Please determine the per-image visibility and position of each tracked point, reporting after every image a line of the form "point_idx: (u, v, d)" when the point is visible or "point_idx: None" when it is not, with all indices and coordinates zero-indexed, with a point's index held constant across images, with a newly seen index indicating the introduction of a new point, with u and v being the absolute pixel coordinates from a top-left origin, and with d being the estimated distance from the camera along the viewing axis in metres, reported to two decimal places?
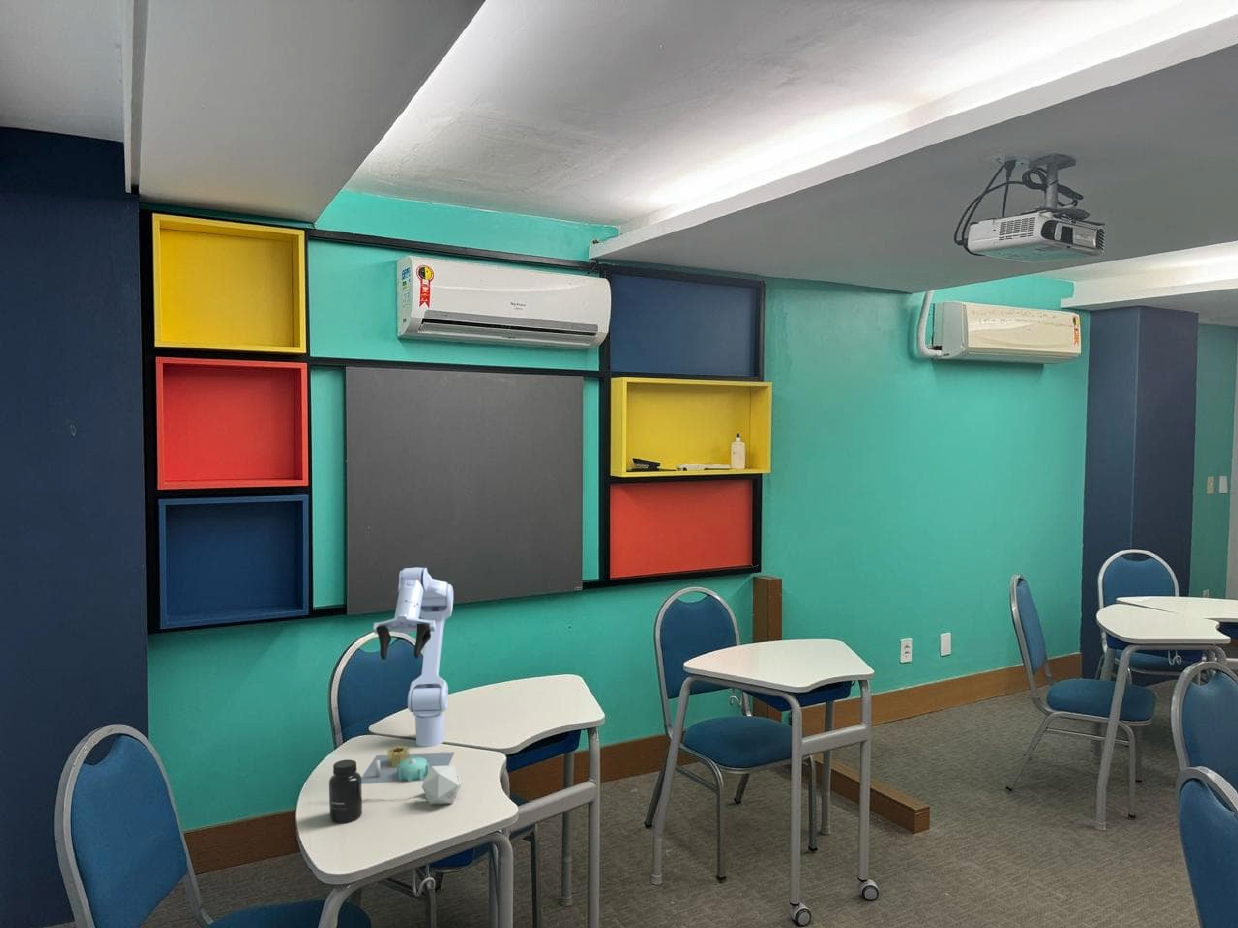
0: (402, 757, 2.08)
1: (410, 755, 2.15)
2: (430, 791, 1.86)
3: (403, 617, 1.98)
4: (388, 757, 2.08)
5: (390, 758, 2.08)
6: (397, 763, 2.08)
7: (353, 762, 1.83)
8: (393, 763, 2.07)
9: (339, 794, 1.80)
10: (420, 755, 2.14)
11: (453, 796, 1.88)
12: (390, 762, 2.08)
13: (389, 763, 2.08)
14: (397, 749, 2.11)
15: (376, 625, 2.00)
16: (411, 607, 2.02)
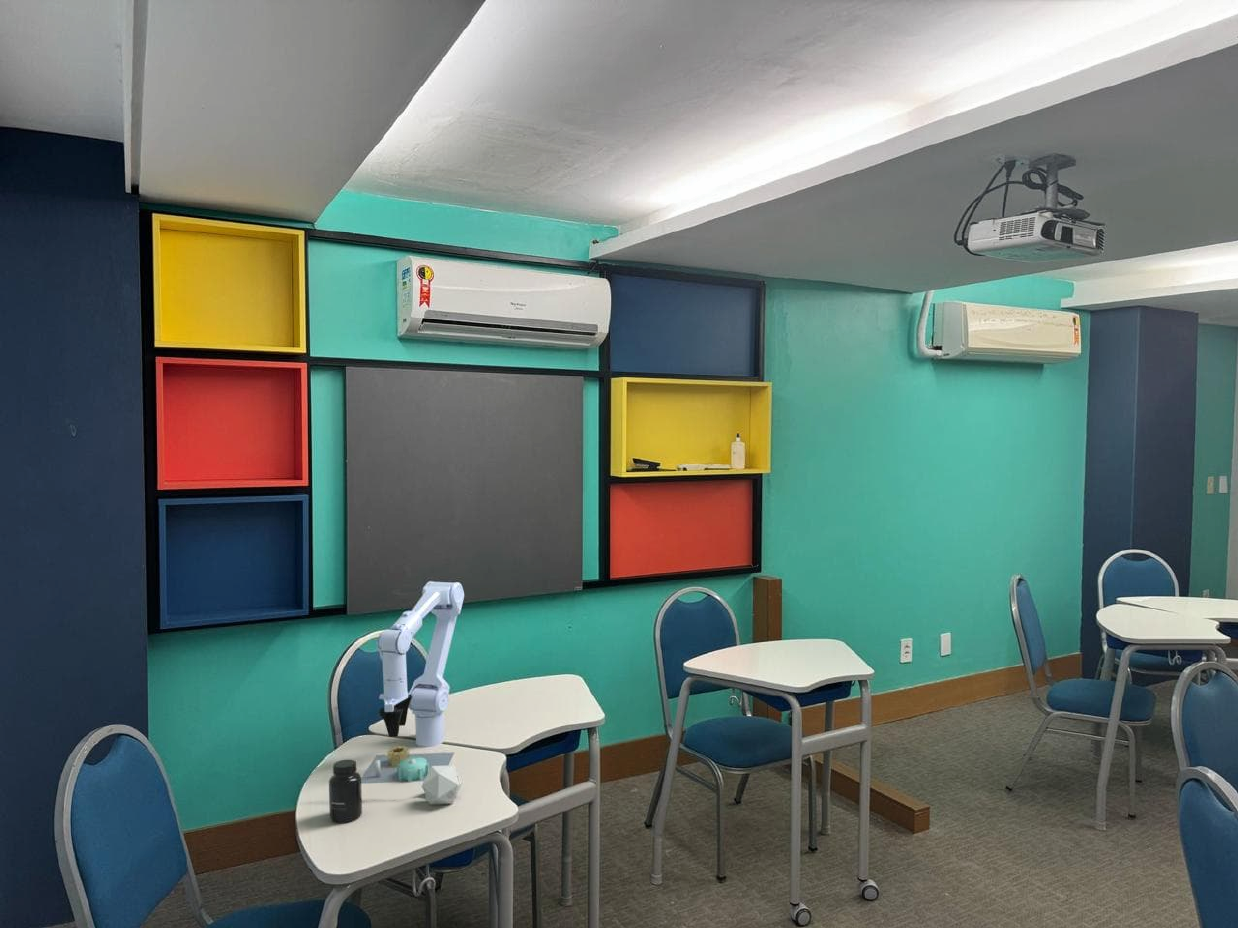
0: (402, 757, 2.08)
1: (410, 755, 2.15)
2: (430, 791, 1.86)
3: None
4: (388, 757, 2.08)
5: (390, 758, 2.08)
6: (397, 763, 2.08)
7: (353, 762, 1.83)
8: (393, 763, 2.07)
9: (339, 794, 1.80)
10: (420, 755, 2.14)
11: (453, 796, 1.88)
12: (390, 762, 2.08)
13: (389, 763, 2.08)
14: (397, 749, 2.11)
15: None
16: (384, 684, 2.08)
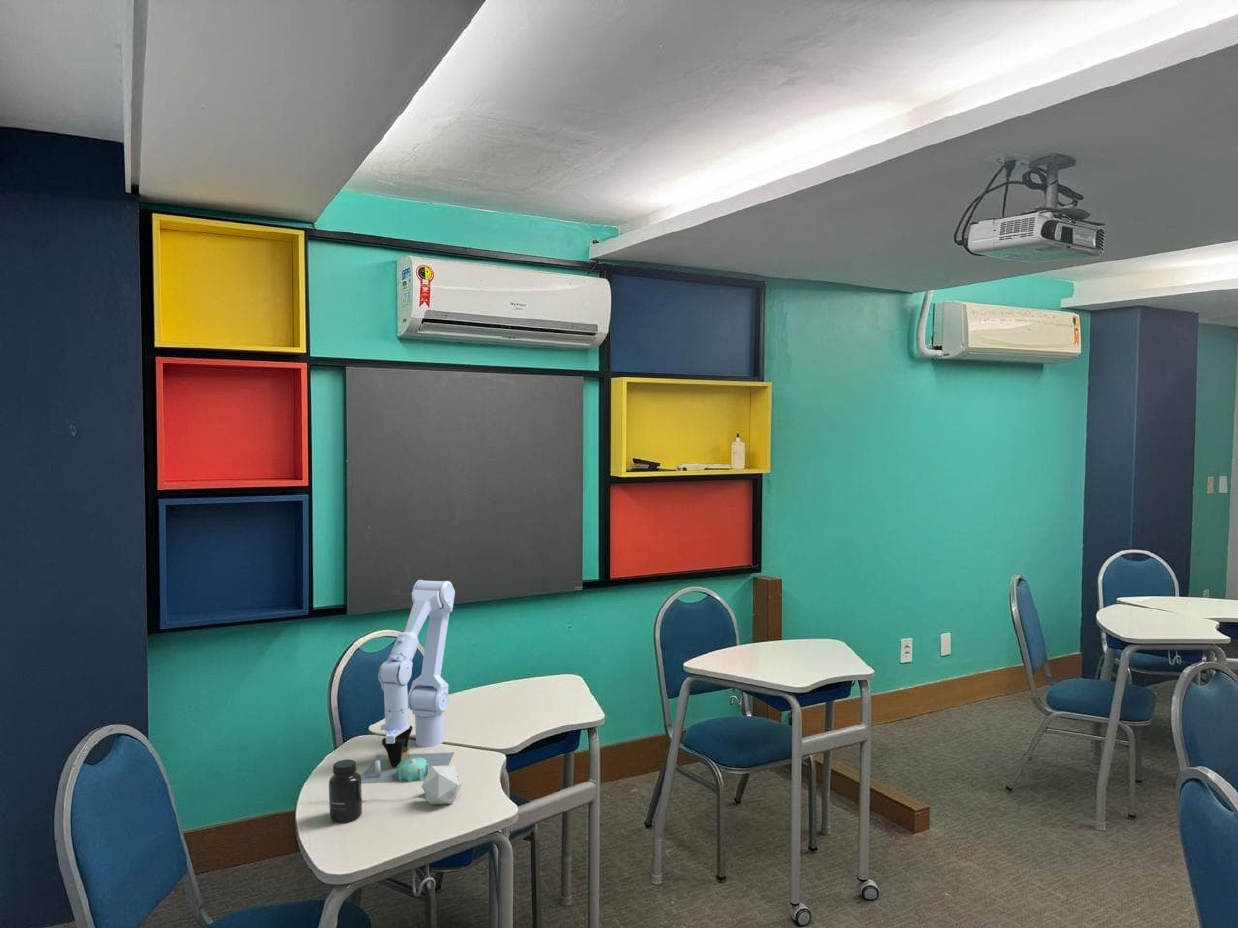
0: (402, 757, 2.08)
1: (410, 755, 2.15)
2: (430, 791, 1.86)
3: None
4: (388, 757, 2.08)
5: None
6: None
7: (353, 762, 1.83)
8: None
9: (339, 794, 1.80)
10: (420, 755, 2.14)
11: (453, 796, 1.88)
12: None
13: (389, 763, 2.08)
14: None
15: None
16: (385, 715, 2.08)
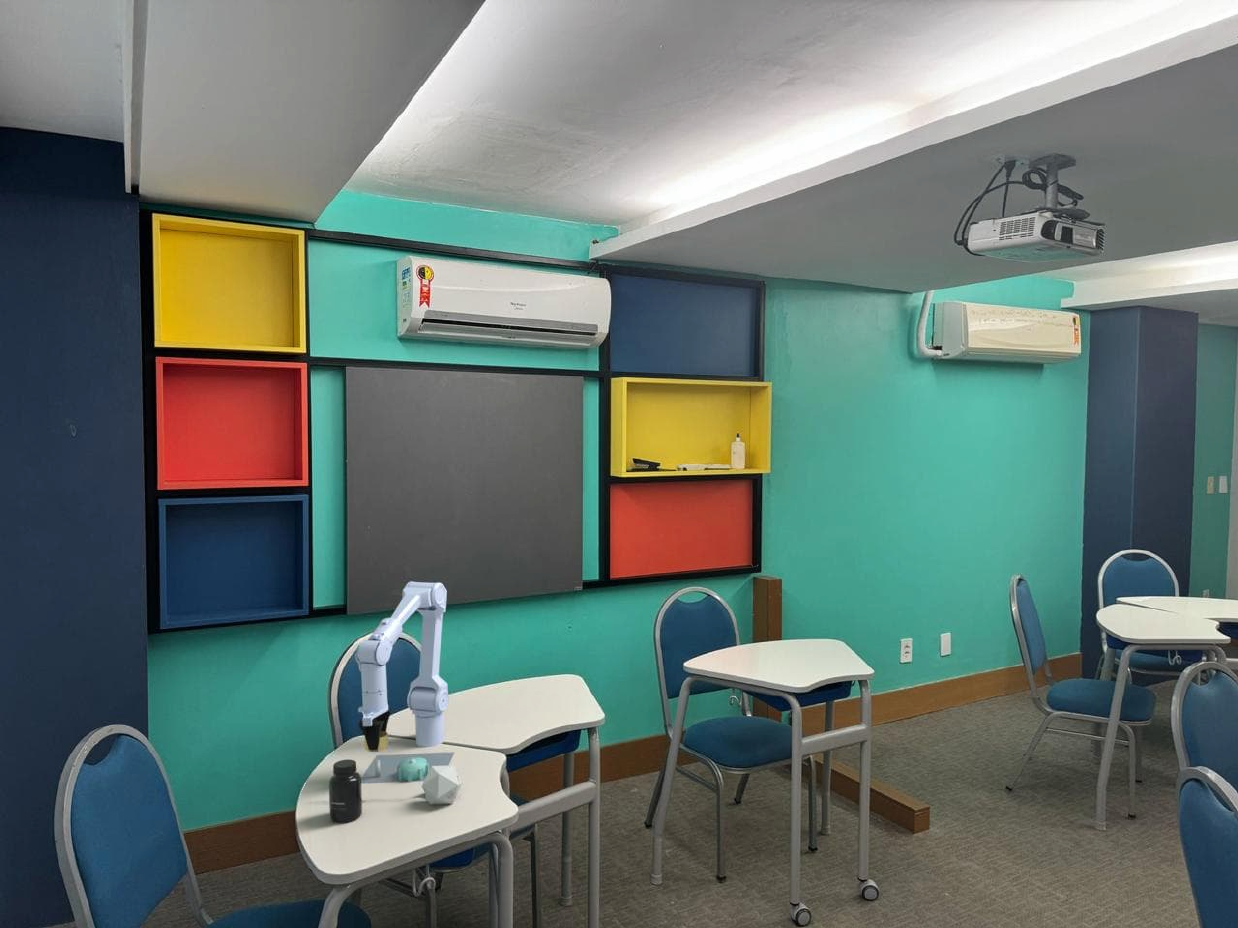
0: (380, 742, 2.00)
1: (410, 755, 2.15)
2: (430, 791, 1.86)
3: None
4: (366, 742, 2.00)
5: None
6: None
7: (353, 762, 1.83)
8: None
9: (339, 794, 1.80)
10: (420, 755, 2.14)
11: (453, 796, 1.88)
12: None
13: (367, 748, 2.00)
14: None
15: None
16: (362, 697, 2.00)
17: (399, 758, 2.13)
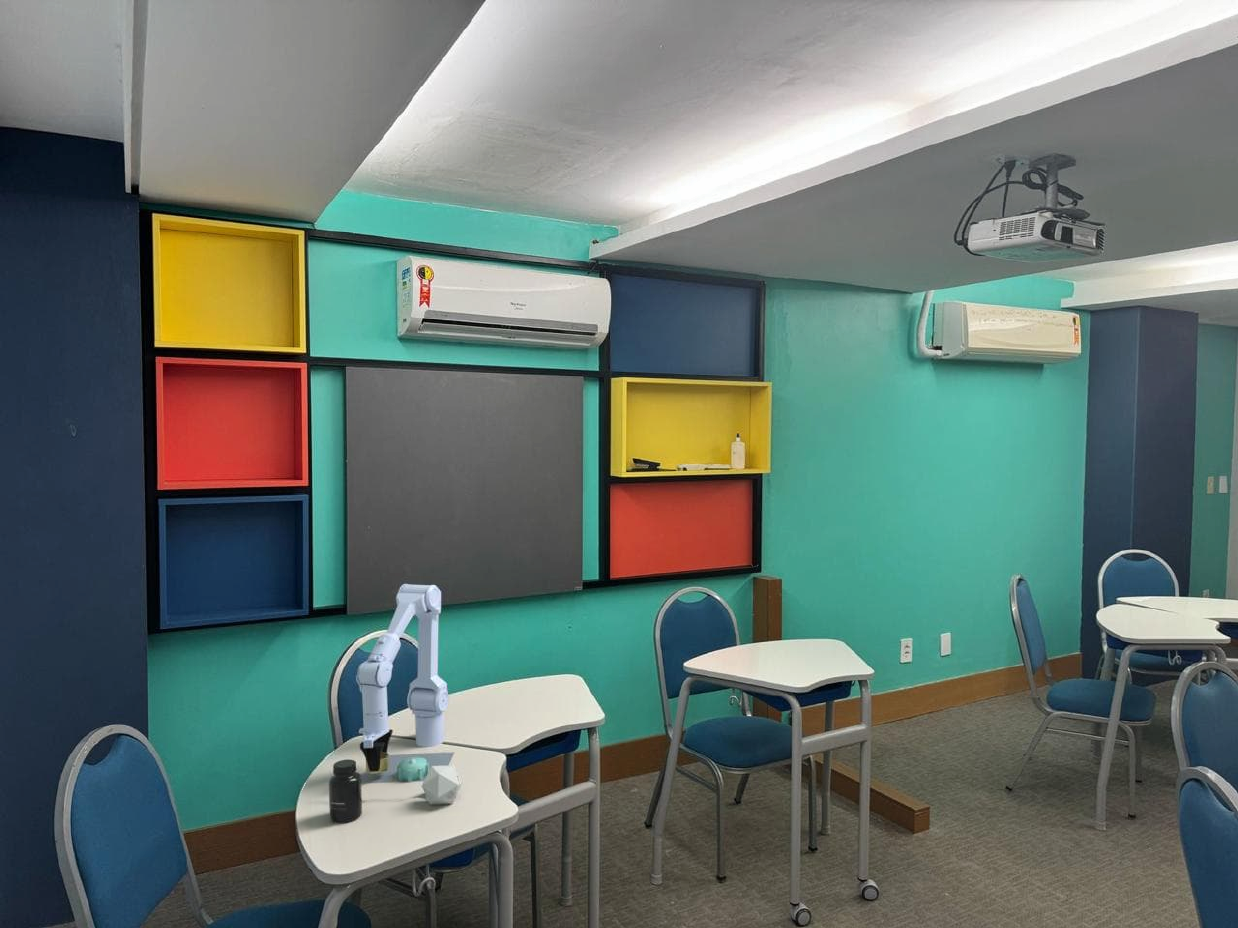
0: (381, 763, 2.00)
1: (410, 755, 2.15)
2: (430, 791, 1.86)
3: None
4: (366, 763, 2.00)
5: None
6: None
7: (353, 762, 1.83)
8: None
9: (339, 794, 1.80)
10: (420, 755, 2.14)
11: (453, 796, 1.88)
12: (368, 768, 2.00)
13: (367, 769, 2.00)
14: None
15: None
16: (363, 719, 2.00)
17: (399, 758, 2.13)
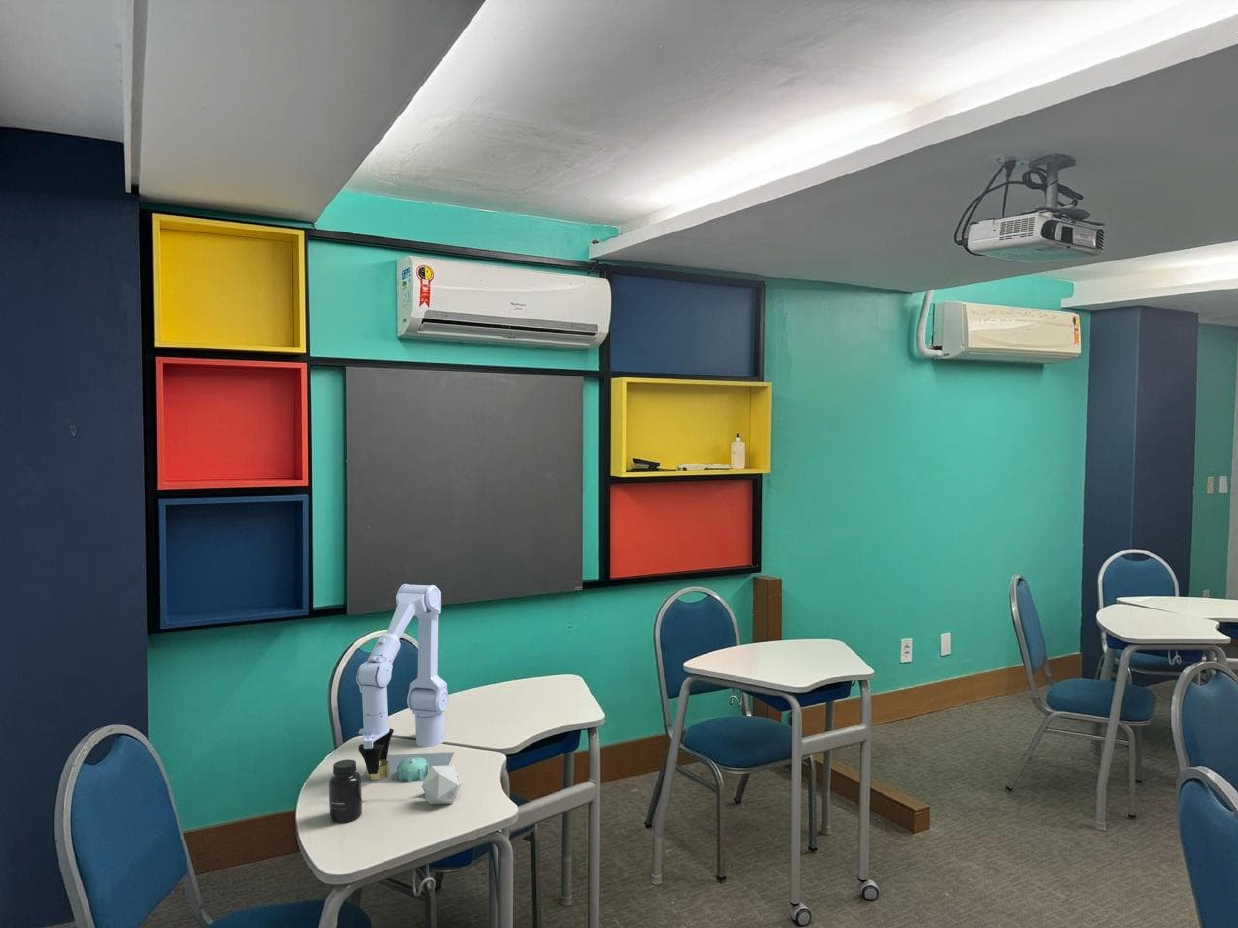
0: (381, 771, 2.00)
1: (410, 755, 2.15)
2: (430, 791, 1.86)
3: None
4: (367, 771, 2.00)
5: None
6: (376, 777, 2.00)
7: (353, 762, 1.83)
8: (372, 777, 1.99)
9: (339, 794, 1.80)
10: (420, 755, 2.14)
11: (453, 796, 1.88)
12: (369, 776, 2.00)
13: (368, 777, 2.00)
14: None
15: None
16: (363, 719, 2.00)
17: (399, 758, 2.13)
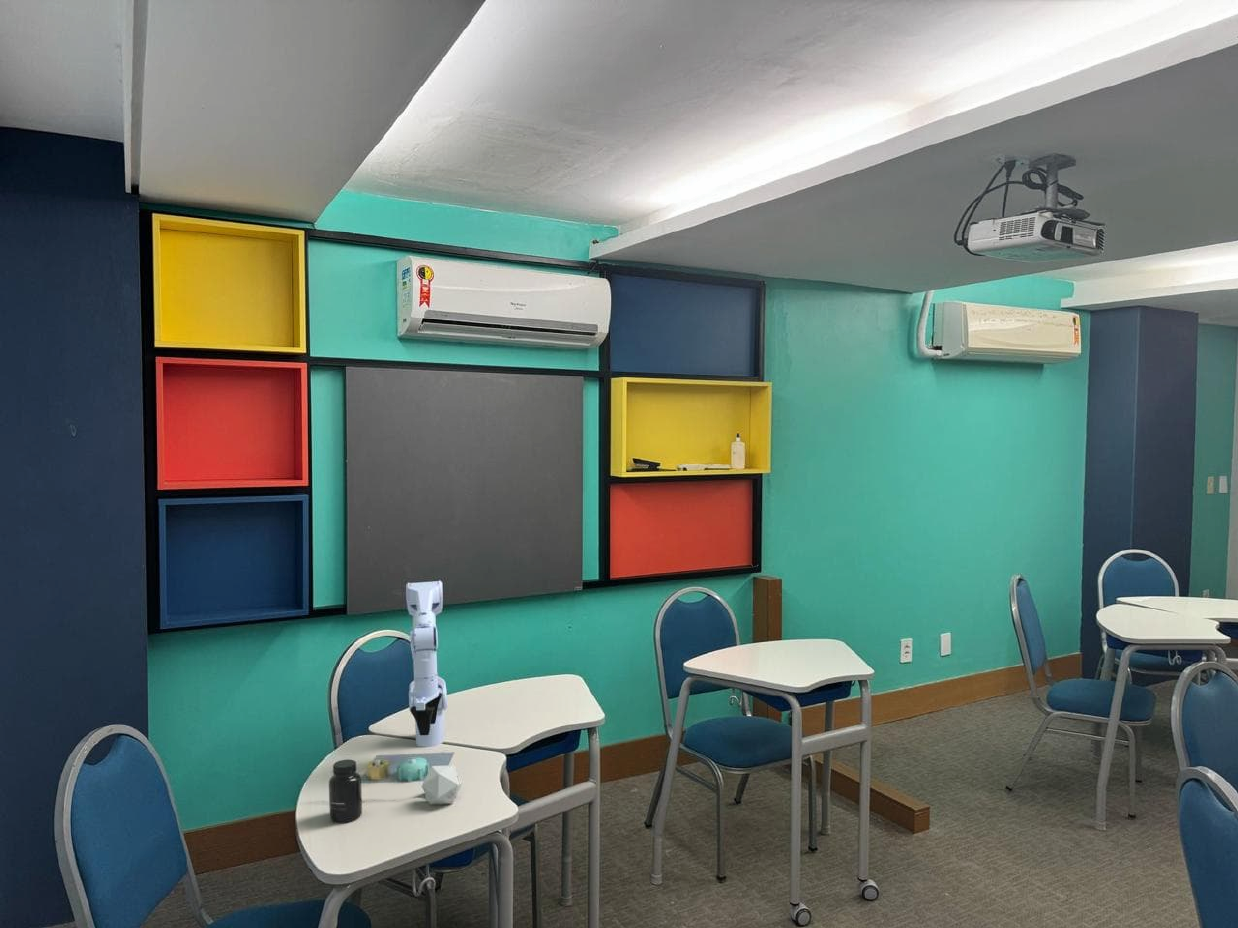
0: (381, 771, 2.00)
1: (410, 755, 2.15)
2: (430, 791, 1.86)
3: None
4: (367, 771, 2.00)
5: (369, 772, 2.00)
6: (376, 777, 2.00)
7: (353, 762, 1.83)
8: (372, 777, 1.99)
9: (339, 794, 1.80)
10: (420, 755, 2.14)
11: (453, 796, 1.88)
12: (369, 776, 2.00)
13: (368, 777, 2.00)
14: None
15: None
16: (414, 683, 2.06)
17: (399, 758, 2.13)
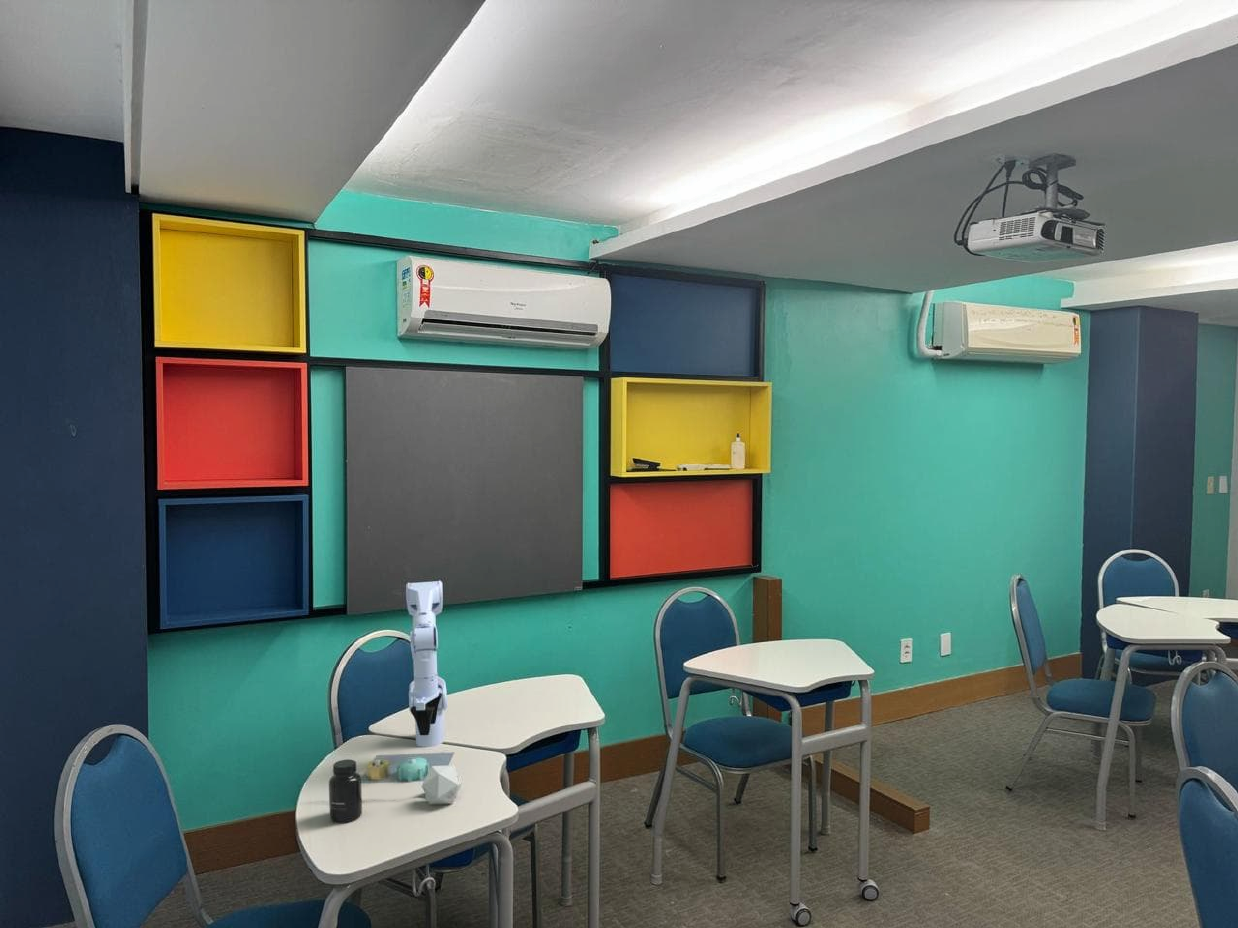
0: (381, 771, 2.00)
1: (410, 755, 2.15)
2: (430, 791, 1.86)
3: None
4: (367, 771, 2.00)
5: (369, 772, 2.00)
6: (376, 777, 2.00)
7: (353, 762, 1.83)
8: (372, 777, 1.99)
9: (339, 794, 1.80)
10: (420, 755, 2.14)
11: (453, 796, 1.88)
12: (369, 776, 2.00)
13: (368, 777, 2.00)
14: None
15: None
16: (414, 683, 2.06)
17: (399, 758, 2.13)
